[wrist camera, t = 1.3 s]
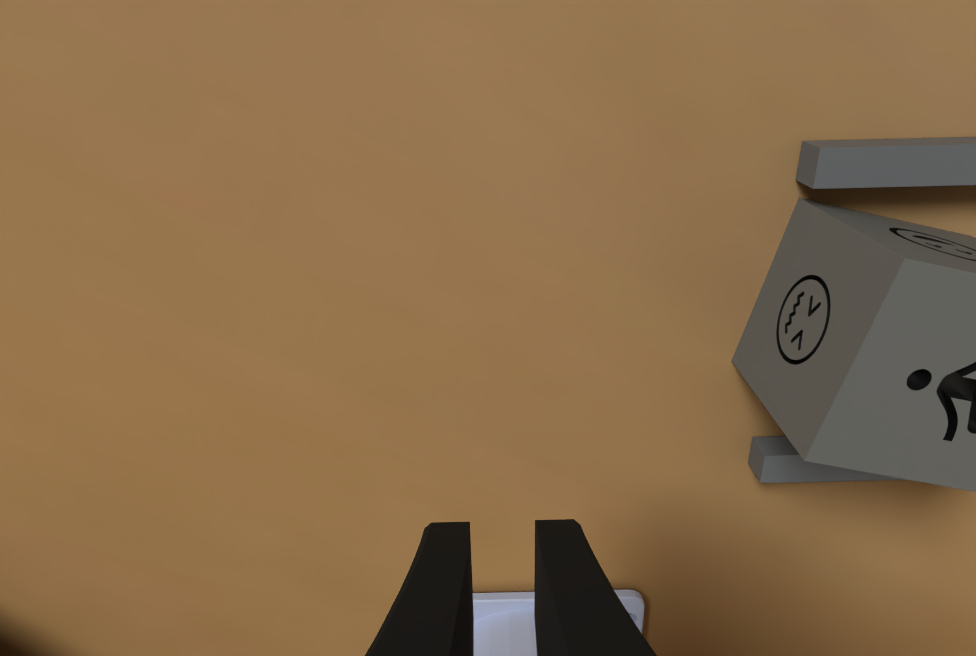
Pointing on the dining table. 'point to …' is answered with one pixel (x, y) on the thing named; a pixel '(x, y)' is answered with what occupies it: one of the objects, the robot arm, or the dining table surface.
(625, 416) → the dining table surface
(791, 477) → the guide lane
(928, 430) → the dice cube
